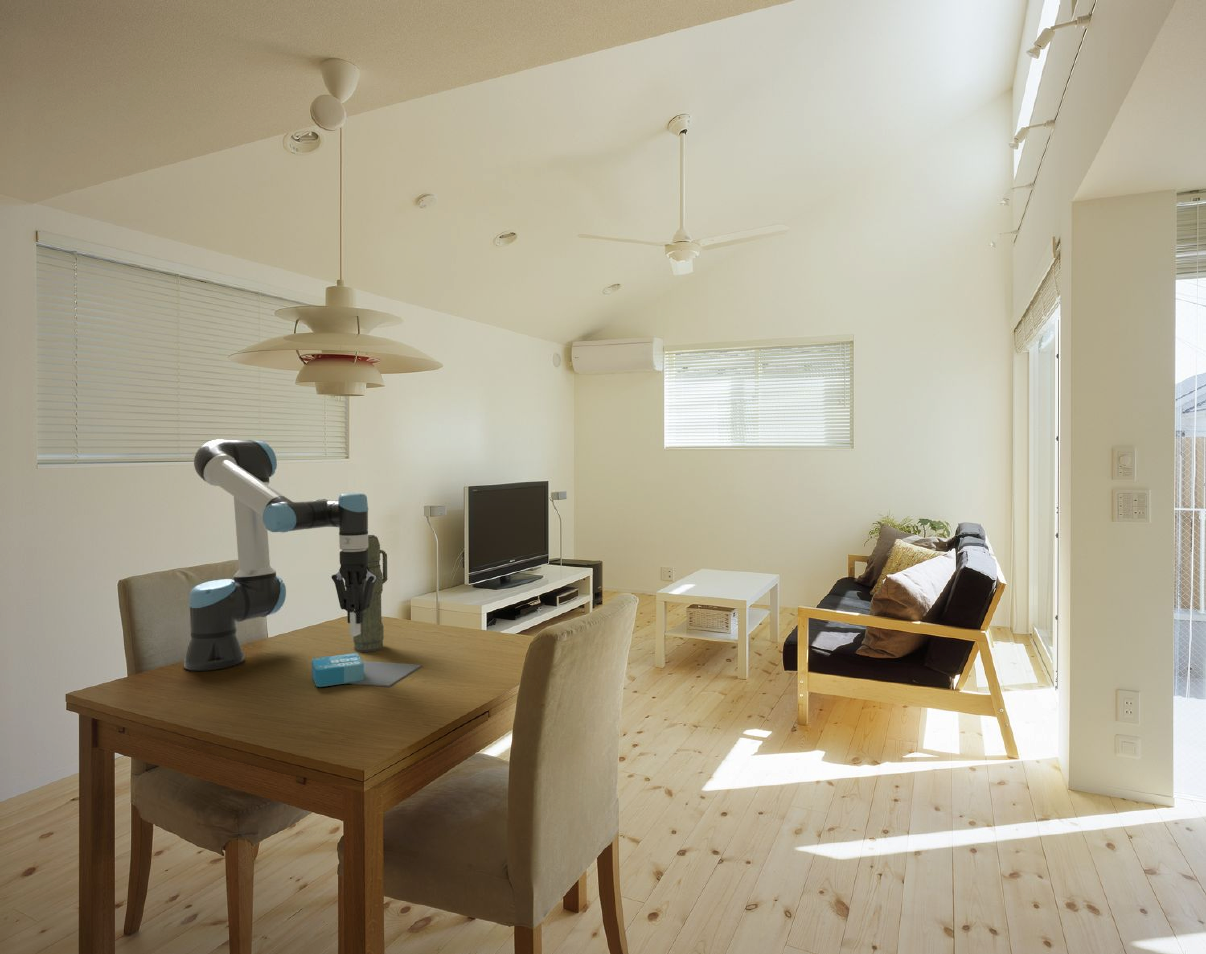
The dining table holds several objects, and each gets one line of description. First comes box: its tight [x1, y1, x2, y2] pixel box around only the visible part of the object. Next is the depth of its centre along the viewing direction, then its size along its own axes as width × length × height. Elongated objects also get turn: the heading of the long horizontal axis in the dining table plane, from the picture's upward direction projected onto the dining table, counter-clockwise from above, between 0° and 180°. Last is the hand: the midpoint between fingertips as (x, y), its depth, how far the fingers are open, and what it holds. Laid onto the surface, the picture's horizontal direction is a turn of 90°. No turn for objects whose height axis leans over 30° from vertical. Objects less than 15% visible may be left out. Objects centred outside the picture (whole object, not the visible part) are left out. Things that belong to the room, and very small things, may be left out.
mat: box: [345, 660, 423, 688], centre depth 195 cm, size 19×18×1 cm
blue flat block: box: [311, 652, 364, 688], centre depth 190 cm, size 12×4×12 cm
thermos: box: [352, 534, 388, 653], centre depth 220 cm, size 9×12×35 cm
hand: (355, 634), depth 196 cm, fingers closed
